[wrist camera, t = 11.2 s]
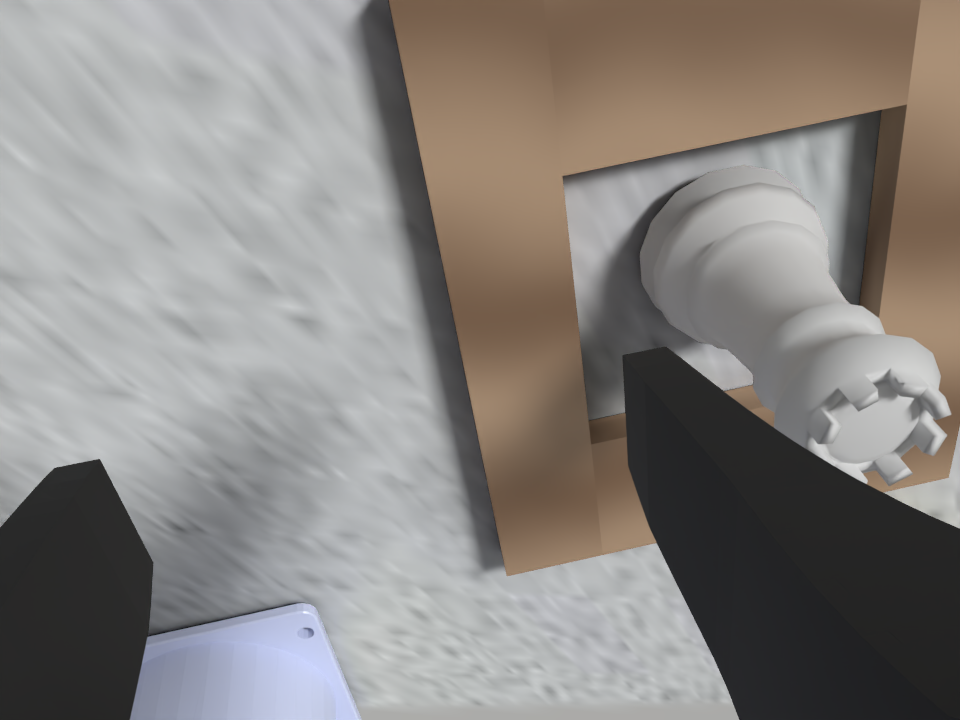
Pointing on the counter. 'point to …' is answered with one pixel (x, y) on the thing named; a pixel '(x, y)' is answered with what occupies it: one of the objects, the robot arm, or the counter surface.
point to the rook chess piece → (791, 321)
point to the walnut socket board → (640, 135)
